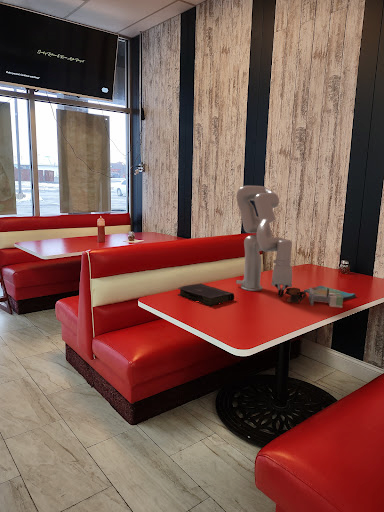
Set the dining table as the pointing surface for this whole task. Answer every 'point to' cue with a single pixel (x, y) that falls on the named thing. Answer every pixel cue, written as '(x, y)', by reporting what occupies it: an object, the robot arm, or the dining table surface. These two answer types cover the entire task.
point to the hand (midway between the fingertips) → (280, 296)
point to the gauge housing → (335, 300)
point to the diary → (205, 294)
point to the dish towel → (323, 291)
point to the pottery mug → (295, 295)
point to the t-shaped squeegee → (318, 296)
